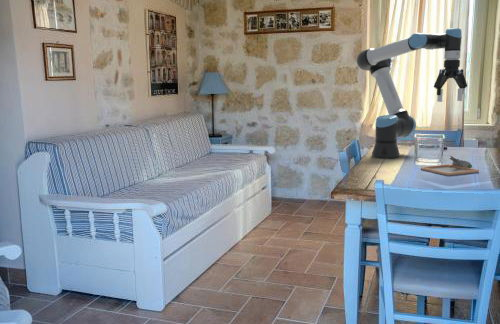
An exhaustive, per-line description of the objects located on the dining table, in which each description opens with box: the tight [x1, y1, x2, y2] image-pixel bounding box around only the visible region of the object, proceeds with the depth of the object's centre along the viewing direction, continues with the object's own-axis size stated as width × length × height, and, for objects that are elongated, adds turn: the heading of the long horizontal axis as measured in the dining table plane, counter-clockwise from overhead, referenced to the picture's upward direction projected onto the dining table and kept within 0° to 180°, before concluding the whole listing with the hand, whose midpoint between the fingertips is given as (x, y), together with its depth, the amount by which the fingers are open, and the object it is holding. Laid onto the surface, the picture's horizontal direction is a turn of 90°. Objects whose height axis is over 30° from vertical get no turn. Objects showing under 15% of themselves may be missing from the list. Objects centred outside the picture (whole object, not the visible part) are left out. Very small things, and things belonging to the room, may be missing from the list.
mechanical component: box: [449, 156, 473, 169], centre depth 233 cm, size 3×10×10 cm
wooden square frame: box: [420, 163, 480, 177], centre depth 228 cm, size 18×18×1 cm
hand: (449, 101), depth 249 cm, fingers open, 13 cm apart
